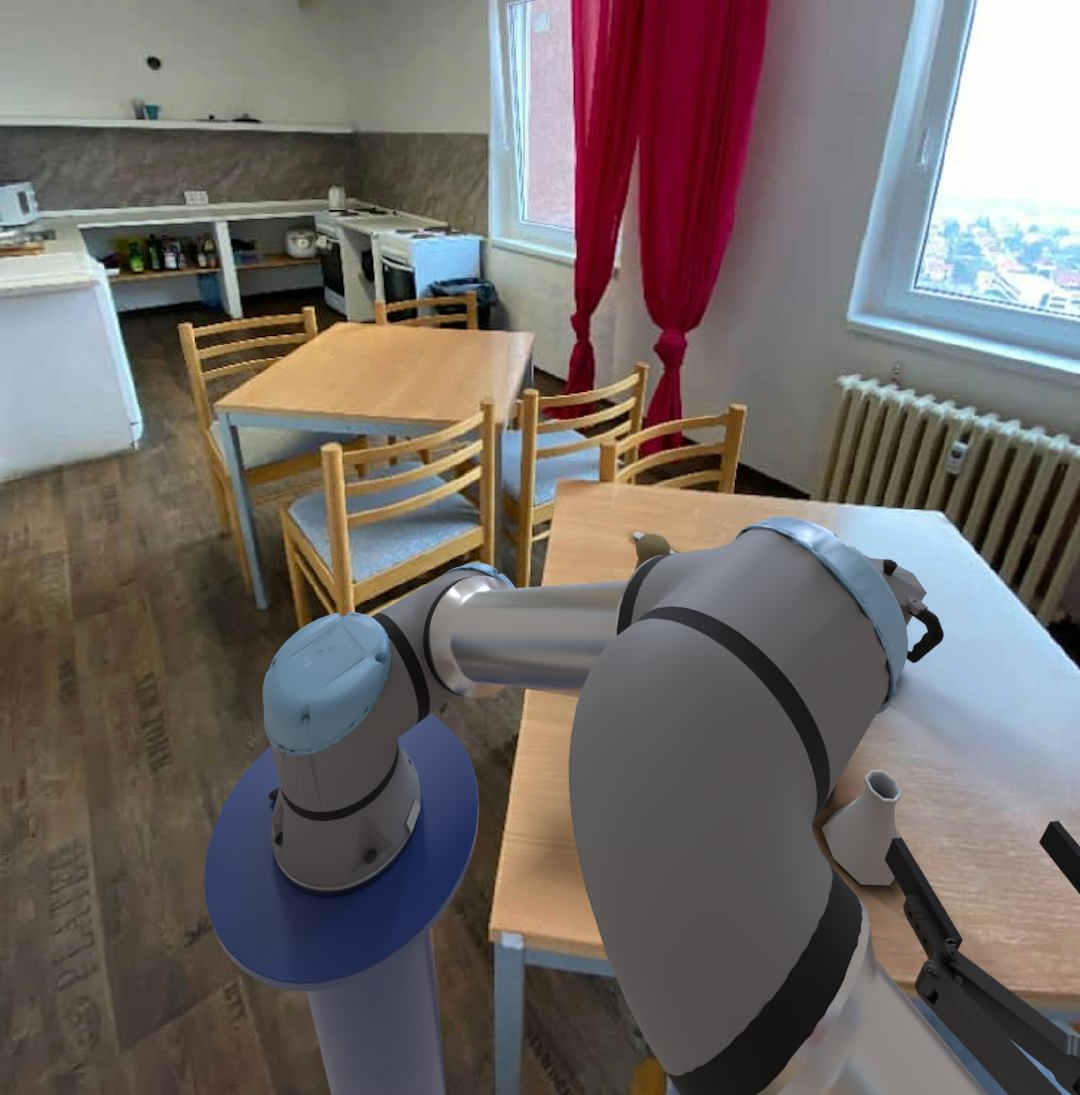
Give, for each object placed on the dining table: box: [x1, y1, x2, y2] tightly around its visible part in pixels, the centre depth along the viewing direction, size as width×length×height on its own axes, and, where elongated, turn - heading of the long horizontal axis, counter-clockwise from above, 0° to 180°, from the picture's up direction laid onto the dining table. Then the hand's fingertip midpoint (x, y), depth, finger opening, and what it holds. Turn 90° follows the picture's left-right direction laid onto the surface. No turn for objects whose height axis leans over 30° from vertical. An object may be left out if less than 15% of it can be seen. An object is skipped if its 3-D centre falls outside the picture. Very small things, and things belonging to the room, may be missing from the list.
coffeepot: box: [863, 554, 945, 664], centre depth 80 cm, size 15×9×18 cm, turn 17°
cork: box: [634, 533, 671, 571], centre depth 94 cm, size 6×6×11 cm
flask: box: [821, 769, 904, 886], centre depth 61 cm, size 7×7×10 cm
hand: (971, 839), depth 49 cm, fingers open, 13 cm apart
